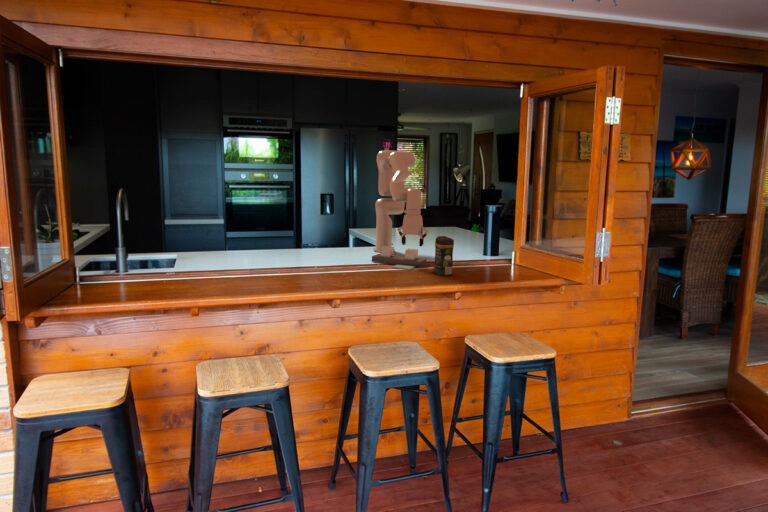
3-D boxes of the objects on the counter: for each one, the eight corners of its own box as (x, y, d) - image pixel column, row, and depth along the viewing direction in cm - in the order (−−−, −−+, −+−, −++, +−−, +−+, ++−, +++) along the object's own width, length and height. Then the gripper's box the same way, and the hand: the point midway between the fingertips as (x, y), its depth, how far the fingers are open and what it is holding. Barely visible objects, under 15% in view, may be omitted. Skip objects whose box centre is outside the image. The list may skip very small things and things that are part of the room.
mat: (397, 265, 272) (397, 264, 272) (415, 267, 268) (415, 266, 268) (391, 267, 266) (392, 266, 266) (410, 270, 262) (410, 269, 262)
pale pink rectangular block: (408, 263, 280) (408, 248, 279) (417, 264, 278) (418, 249, 277) (404, 264, 275) (405, 249, 274) (413, 265, 273) (414, 250, 272)
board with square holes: (378, 259, 289) (379, 253, 289) (426, 264, 278) (426, 258, 277) (371, 261, 281) (371, 256, 281) (420, 267, 270) (420, 261, 269)
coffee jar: (431, 272, 259) (433, 235, 256) (446, 271, 262) (447, 234, 258) (439, 276, 250) (441, 238, 247) (454, 275, 252) (456, 237, 249)
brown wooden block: (384, 260, 286) (385, 246, 284) (393, 261, 284) (393, 247, 282) (380, 262, 281) (381, 247, 280) (389, 263, 279) (390, 248, 278)
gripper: (395, 212, 272) (394, 244, 274) (426, 214, 265) (425, 247, 267) (400, 211, 279) (399, 243, 281) (431, 213, 272) (430, 245, 274)
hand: (412, 245), depth 274 cm, fingers open, 9 cm apart
